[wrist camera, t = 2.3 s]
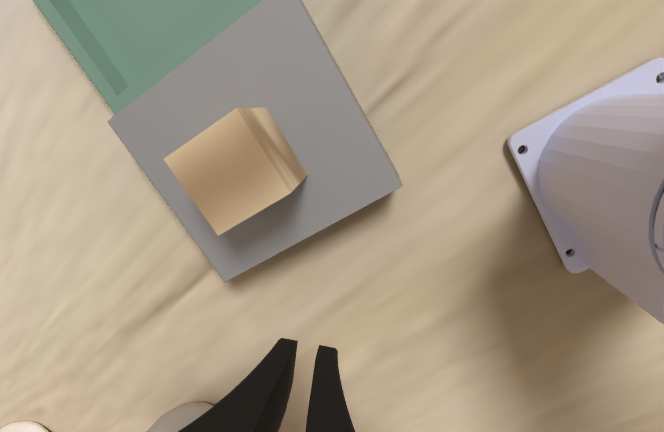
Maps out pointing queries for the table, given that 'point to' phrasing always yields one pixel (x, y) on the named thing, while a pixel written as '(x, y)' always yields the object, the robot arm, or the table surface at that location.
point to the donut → (179, 417)
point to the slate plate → (288, 113)
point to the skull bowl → (23, 427)
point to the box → (137, 38)
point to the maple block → (237, 167)
